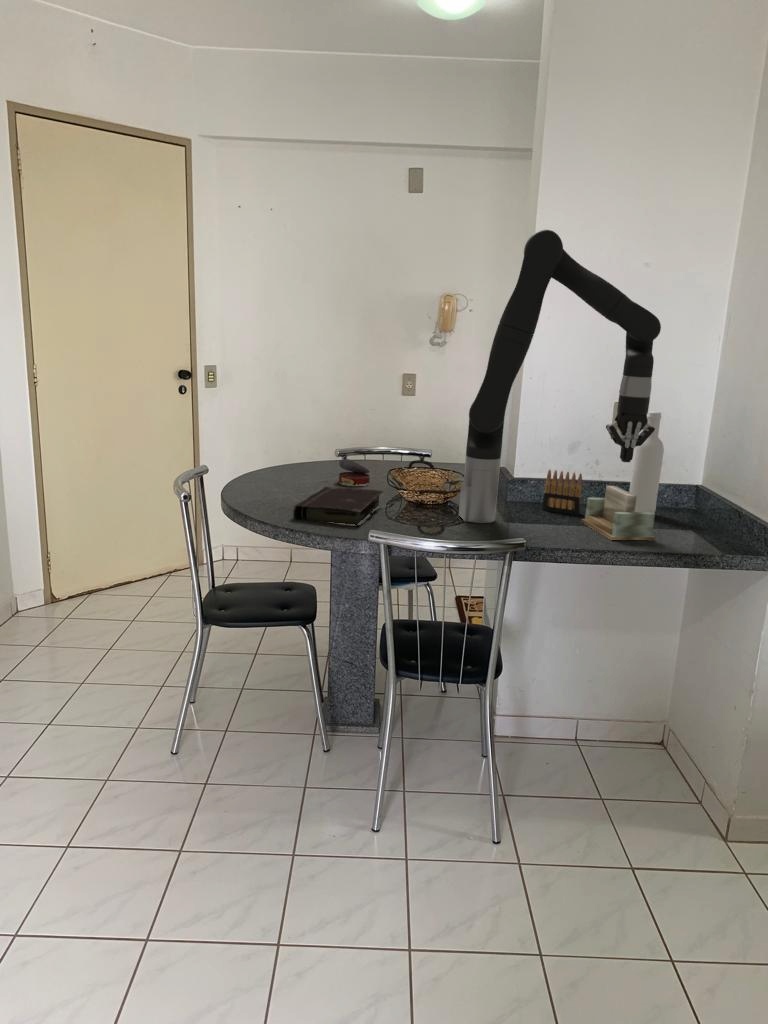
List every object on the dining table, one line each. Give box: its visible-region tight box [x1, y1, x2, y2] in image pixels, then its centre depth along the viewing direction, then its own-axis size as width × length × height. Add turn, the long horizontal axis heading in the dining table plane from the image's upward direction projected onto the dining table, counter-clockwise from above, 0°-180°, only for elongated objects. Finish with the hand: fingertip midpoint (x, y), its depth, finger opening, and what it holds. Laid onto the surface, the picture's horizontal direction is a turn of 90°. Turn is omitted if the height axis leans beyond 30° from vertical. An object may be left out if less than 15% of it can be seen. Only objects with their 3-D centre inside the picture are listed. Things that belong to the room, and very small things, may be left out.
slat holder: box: [580, 497, 656, 541], centre depth 200 cm, size 12×18×7 cm, turn 10°
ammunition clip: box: [541, 468, 583, 516], centre depth 218 cm, size 11×2×12 cm, turn 67°
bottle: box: [628, 410, 665, 515], centre depth 218 cm, size 8×8×30 cm
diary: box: [293, 486, 384, 527], centre depth 203 cm, size 19×25×5 cm
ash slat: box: [602, 485, 637, 524], centre depth 199 cm, size 2×12×10 cm, turn 10°
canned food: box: [338, 458, 371, 485], centre depth 241 cm, size 11×10×10 cm
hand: (625, 461), depth 196 cm, fingers closed
